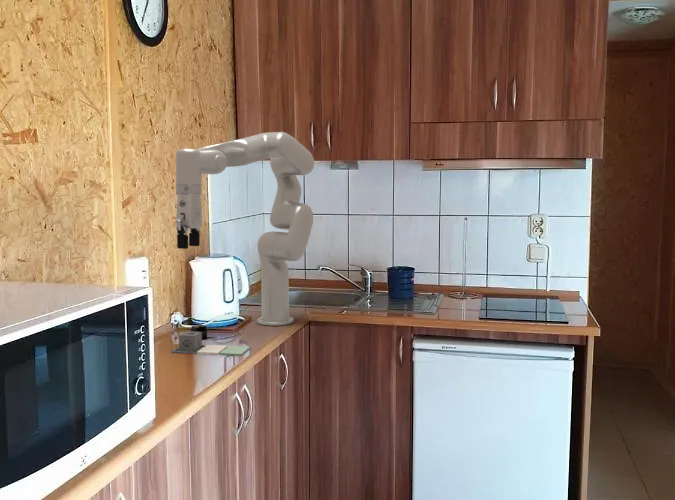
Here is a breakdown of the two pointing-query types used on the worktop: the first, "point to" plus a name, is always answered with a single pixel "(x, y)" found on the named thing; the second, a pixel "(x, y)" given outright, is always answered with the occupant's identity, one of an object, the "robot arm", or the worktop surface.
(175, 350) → the game board
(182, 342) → the dice cube
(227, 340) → the worktop surface
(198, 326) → the black angular block
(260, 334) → the worktop surface
